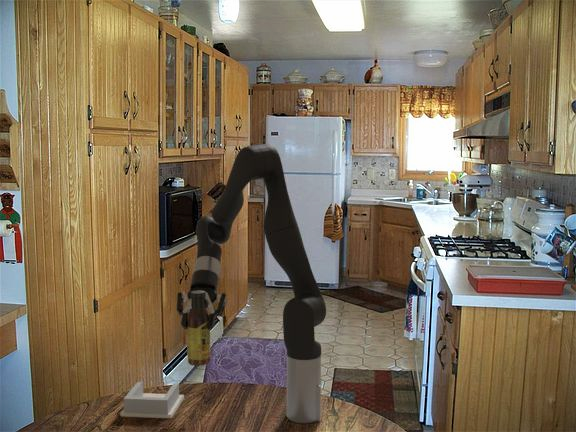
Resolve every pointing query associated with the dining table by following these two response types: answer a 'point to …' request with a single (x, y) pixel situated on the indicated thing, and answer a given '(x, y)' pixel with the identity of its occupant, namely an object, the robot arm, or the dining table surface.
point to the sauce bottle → (198, 331)
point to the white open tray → (151, 403)
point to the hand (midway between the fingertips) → (197, 327)
